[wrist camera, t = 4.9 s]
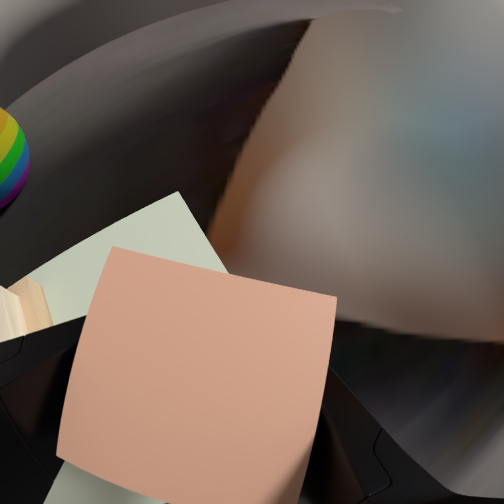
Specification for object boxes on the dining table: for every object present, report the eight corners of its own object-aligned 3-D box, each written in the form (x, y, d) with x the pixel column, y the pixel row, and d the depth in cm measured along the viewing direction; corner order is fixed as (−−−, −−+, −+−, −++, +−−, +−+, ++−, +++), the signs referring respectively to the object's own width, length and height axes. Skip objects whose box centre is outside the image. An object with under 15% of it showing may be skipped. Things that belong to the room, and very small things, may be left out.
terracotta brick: (253, 442, 12) (291, 522, 4) (152, 418, 12) (55, 455, 4) (273, 347, 14) (337, 296, 6) (175, 325, 14) (112, 245, 6)
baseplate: (37, 529, 8) (34, 531, 8) (-45, 331, 13) (-48, 330, 13) (322, 416, 15) (324, 417, 14) (178, 194, 20) (178, 191, 20)
